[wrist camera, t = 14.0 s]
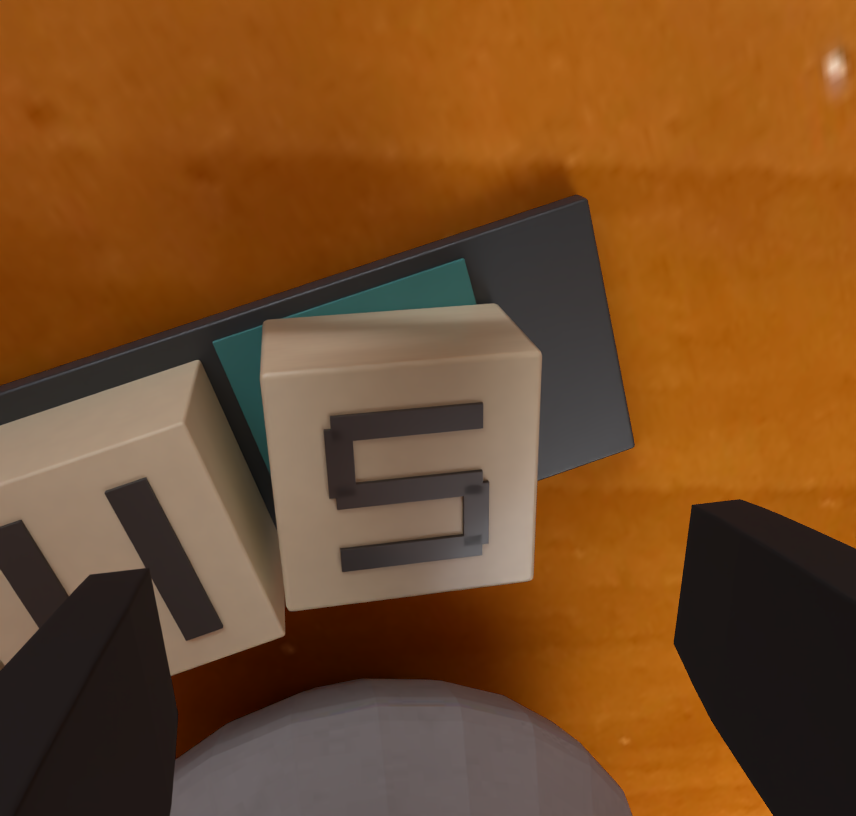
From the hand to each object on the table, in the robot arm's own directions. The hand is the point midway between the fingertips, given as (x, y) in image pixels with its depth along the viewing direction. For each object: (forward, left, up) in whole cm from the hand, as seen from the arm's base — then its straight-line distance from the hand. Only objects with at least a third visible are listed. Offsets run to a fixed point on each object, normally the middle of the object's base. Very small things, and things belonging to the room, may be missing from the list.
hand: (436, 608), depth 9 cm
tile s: (0, 0, -6) cm, 6 cm away
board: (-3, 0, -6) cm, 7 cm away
